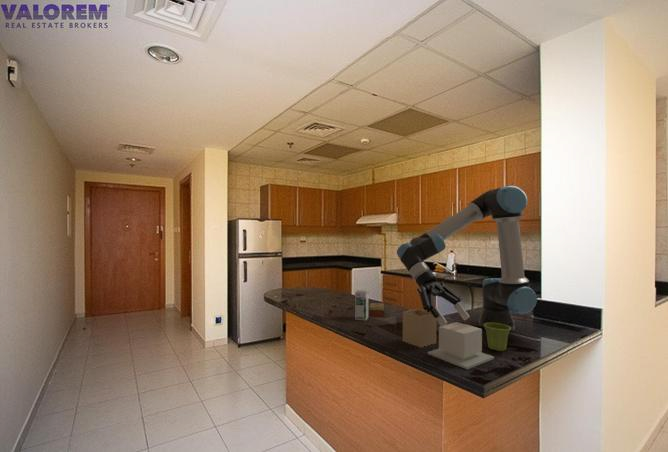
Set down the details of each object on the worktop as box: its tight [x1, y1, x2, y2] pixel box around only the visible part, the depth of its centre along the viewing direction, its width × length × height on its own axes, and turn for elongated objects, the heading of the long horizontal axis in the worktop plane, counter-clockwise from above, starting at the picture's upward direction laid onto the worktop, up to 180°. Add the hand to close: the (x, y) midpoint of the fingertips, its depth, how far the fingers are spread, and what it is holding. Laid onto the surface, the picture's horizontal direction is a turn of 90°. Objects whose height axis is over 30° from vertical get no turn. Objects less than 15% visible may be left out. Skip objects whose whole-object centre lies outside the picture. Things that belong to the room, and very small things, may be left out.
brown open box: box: [402, 308, 437, 349], centre depth 131 cm, size 9×9×12 cm
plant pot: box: [484, 323, 511, 352], centre depth 124 cm, size 9×9×9 cm
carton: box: [368, 302, 386, 318], centre depth 178 cm, size 8×16×4 cm, turn 173°
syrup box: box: [354, 289, 369, 322], centre depth 166 cm, size 6×6×14 cm
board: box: [427, 348, 495, 370], centre depth 116 cm, size 16×16×1 cm
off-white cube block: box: [438, 321, 483, 360], centre depth 116 cm, size 10×10×10 cm
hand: (456, 321), depth 118 cm, fingers open, 13 cm apart
